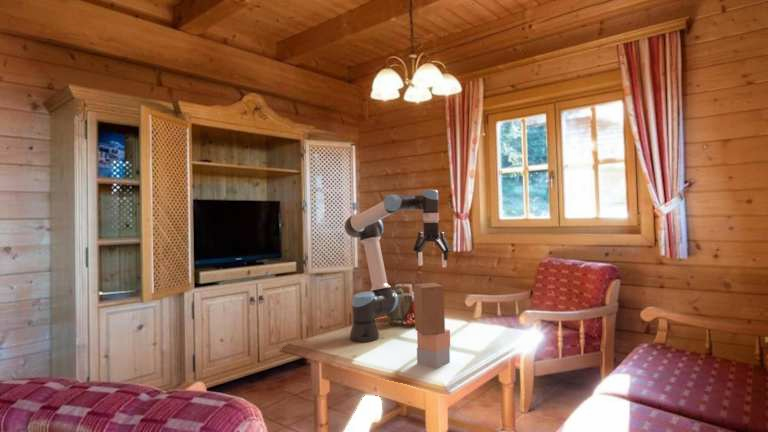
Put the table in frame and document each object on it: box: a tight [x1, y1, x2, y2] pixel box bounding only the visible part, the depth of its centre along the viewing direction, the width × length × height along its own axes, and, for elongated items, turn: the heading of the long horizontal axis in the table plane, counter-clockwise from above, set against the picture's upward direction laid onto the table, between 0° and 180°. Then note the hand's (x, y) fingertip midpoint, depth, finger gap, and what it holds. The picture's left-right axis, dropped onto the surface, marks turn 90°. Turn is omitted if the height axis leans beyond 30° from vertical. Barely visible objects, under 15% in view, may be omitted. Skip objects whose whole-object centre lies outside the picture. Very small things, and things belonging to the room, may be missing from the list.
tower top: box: [416, 328, 451, 352], centre depth 192 cm, size 10×10×7 cm
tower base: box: [416, 346, 451, 370], centre depth 192 cm, size 10×10×7 cm
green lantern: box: [393, 283, 414, 319], centre depth 275 cm, size 10×10×20 cm
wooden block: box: [413, 282, 446, 335], centre depth 191 cm, size 10×10×20 cm
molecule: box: [403, 301, 415, 326], centre depth 260 cm, size 25×11×16 cm, turn 125°
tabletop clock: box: [385, 280, 414, 325], centre depth 260 cm, size 14×9×25 cm, turn 126°
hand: (432, 266), depth 214 cm, fingers open, 13 cm apart
